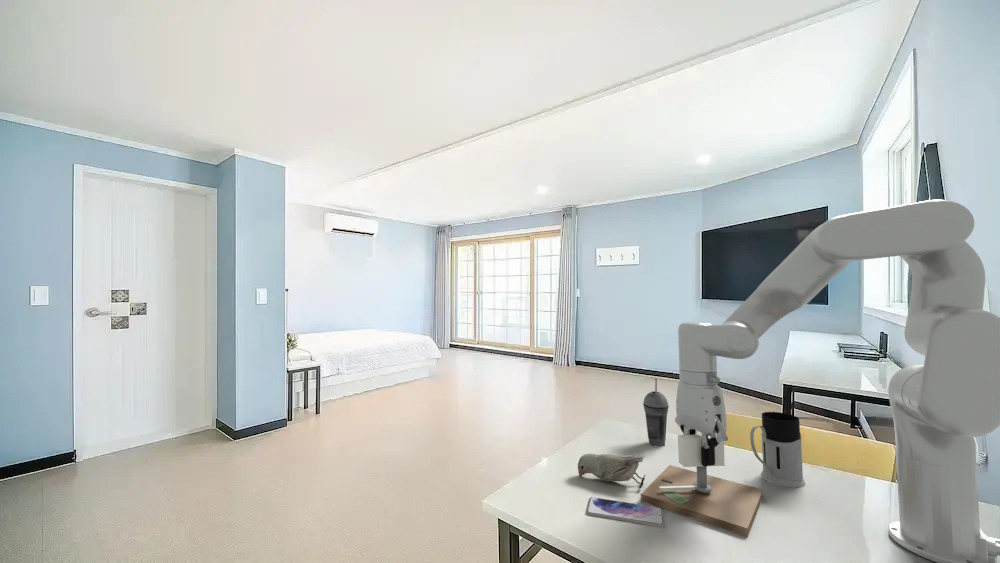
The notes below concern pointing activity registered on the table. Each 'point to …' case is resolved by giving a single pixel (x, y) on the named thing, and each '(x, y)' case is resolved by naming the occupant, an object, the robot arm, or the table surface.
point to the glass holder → (780, 449)
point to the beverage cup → (656, 417)
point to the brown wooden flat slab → (706, 499)
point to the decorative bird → (610, 466)
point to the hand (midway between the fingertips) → (700, 460)
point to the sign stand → (695, 461)
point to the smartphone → (625, 512)
